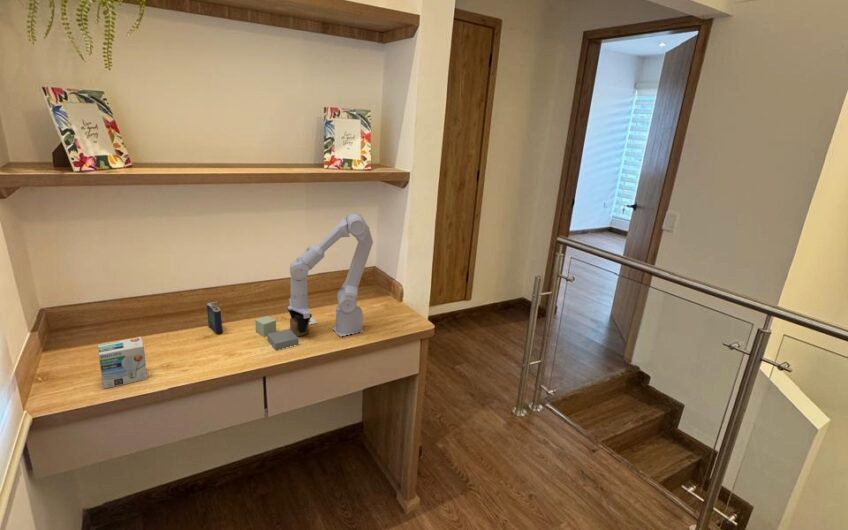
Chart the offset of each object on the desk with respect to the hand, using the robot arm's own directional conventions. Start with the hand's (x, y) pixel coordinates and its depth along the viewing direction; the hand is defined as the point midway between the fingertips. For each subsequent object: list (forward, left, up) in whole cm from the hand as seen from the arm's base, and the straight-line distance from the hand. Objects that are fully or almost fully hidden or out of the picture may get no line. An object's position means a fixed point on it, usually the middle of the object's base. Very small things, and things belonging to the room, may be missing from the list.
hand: (299, 328), depth 163 cm
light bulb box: (+53, +3, -2) cm, 53 cm away
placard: (-5, -8, -2) cm, 10 cm away
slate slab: (+8, +4, -2) cm, 9 cm away
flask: (+25, -16, -2) cm, 29 cm away
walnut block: (0, 0, -2) cm, 2 cm away
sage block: (+10, -6, -2) cm, 12 cm away
